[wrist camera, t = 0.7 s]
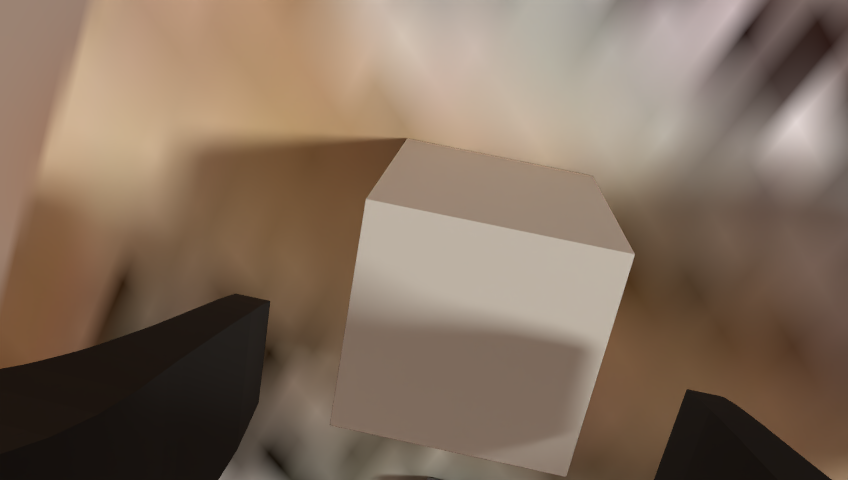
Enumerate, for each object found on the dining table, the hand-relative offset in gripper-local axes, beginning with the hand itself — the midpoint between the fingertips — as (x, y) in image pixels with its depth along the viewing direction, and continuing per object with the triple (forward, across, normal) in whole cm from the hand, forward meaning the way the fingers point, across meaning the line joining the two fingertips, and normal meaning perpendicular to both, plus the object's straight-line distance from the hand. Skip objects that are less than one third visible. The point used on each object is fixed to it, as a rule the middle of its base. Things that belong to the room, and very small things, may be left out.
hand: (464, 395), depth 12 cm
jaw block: (+8, 0, 0) cm, 8 cm away
